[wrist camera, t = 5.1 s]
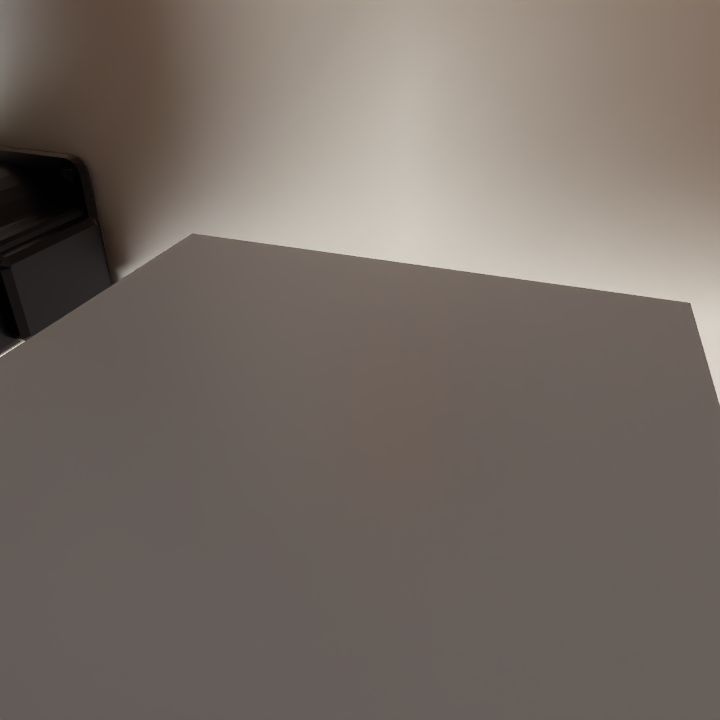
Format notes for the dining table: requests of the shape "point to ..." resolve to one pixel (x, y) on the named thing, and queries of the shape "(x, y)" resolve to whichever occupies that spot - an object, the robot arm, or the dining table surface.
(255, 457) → the grey block
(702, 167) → the dining table surface
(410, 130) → the dining table surface
